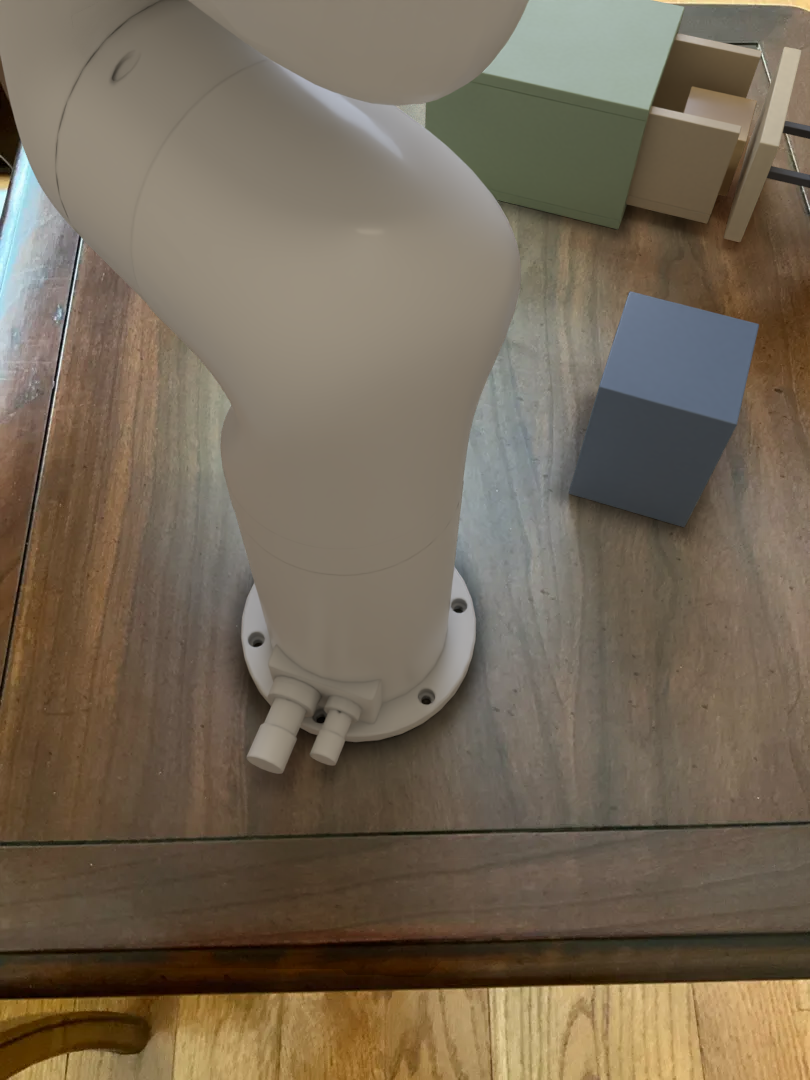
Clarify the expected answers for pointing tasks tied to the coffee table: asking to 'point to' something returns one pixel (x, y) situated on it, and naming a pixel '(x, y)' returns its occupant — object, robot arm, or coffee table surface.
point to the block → (724, 120)
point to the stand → (664, 408)
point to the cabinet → (563, 106)
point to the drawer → (712, 134)
